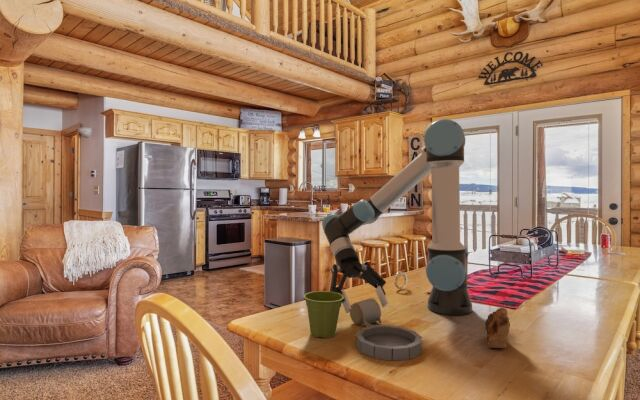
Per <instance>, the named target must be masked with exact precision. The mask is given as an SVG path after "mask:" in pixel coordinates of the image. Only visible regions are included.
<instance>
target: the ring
mask: <svg viewBox="0 0 640 400" xmlns="http://www.w3.org/2000/svg"><path fill="white" fill-rule="evenodd" d="M400 277H403V278H404V279H403V280H404V284H403V286H398V280H399V279H400ZM393 283H394V287H395V288H396V289H397V290H399V291H400V290H401V291H402V290H404V289H405V288H406V287H407V285H408V274H407V273H406V272H404V270H402V271H401V270H399V271H397V272H396V273H395V276H394V279H393Z"/></svg>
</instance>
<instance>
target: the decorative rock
mask: <svg viewBox="0 0 640 400" xmlns="http://www.w3.org/2000/svg"><path fill="white" fill-rule="evenodd" d="M508 314H509V313H508V310H507V308H505V307H500V308H498V309H496V310H494V311H493V312H492V313H489V314H488V315H487V318H486V320H485V322H484V326H485V332H486V340H487V345H488V348H492V349H504V348H506V347H507V340H508V336H509V335H510V327H511V322H510V318H509V316H508Z"/></svg>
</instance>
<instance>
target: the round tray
mask: <svg viewBox="0 0 640 400" xmlns="http://www.w3.org/2000/svg"><path fill="white" fill-rule="evenodd" d="M375 325H376V326H369V327H367V326H365V327H362V328H360V329H359V330H358V332H357V333H356V334H355V347H356V348H357V350H358V351H359V353H361V354H363V355H365V356H369V357H370V358H371V359H375V360H376V359H378V360H384V361H393V362H394V361H396V362H397V361H408V360H412V359H413V358H416V357H418V356H420V355H421V353H422V347H423V344H422V343H423V341H422V339H423V338H422V336H421V335H420V334H418V332H417V331H414V330H413V329H409V328H407V327H403V326H397V325H390V324H381V325H379V324H375Z"/></svg>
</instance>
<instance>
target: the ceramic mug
mask: <svg viewBox="0 0 640 400" xmlns="http://www.w3.org/2000/svg"><path fill="white" fill-rule="evenodd" d="M350 306H351V308H352V309H351V310H350V311H349V316H350V319H351V321H352V322H353V323H354V324H355V325H357V326H363V325H365V327H369V326H376V325H377V324H375V325H374V324H372V323H377V322H378V325H382V319H381V316H382V310H381V306H380V304H379V303H378V301H377V300H376V299H375V298H373V297H372V298H371V297H369V298H368V299H364V300H360V301H357V302H354V303H353V304H350Z"/></svg>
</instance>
